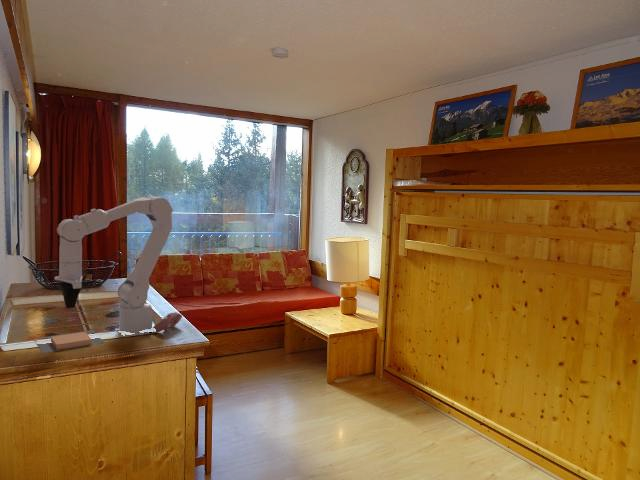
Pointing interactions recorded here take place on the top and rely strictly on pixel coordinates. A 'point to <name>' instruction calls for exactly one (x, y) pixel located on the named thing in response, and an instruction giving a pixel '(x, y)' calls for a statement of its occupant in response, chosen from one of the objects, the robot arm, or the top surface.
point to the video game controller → (168, 322)
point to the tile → (71, 340)
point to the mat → (50, 348)
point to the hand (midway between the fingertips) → (70, 307)
